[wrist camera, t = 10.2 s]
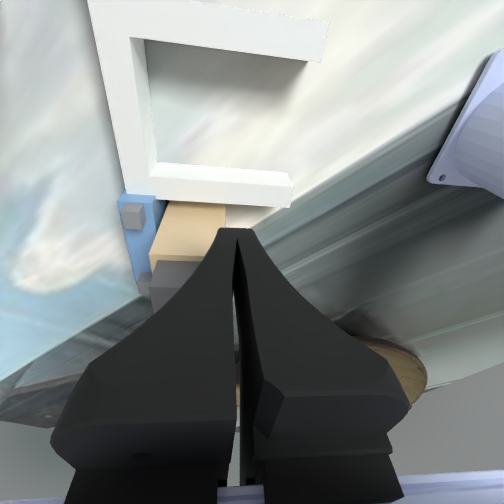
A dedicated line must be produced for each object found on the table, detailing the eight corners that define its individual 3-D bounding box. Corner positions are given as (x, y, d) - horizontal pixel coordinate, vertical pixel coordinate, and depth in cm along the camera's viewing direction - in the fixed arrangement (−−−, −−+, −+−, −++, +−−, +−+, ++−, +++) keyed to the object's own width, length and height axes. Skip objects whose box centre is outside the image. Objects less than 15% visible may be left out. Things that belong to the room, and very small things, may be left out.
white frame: (375, -280, 9) (472, -499, 5) (268, 270, 24) (274, 308, 21) (33, -387, 8) (-137, -768, 4) (149, 266, 23) (135, 305, 20)
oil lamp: (303, 411, 46) (314, 465, 40) (170, 345, 31) (156, 416, 25) (428, 364, 39) (466, 422, 33) (334, 244, 23) (371, 312, 17)
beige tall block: (226, 198, 20) (224, 283, 13) (223, 241, 22) (221, 332, 15) (171, 195, 19) (138, 280, 12) (175, 239, 22) (149, 331, 14)
